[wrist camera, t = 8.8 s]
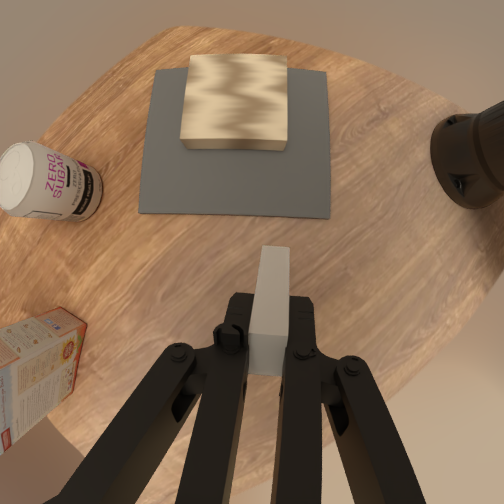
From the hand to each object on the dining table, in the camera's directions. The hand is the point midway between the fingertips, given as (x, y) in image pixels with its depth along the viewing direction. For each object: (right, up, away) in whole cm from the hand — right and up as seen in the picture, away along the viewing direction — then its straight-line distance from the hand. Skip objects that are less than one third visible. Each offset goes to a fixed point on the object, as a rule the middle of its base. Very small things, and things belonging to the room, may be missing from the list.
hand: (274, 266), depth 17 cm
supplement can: (-26, +9, +20) cm, 34 cm away
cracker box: (-30, -15, +21) cm, 40 cm away
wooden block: (-3, +13, +16) cm, 21 cm away
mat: (-3, +16, +19) cm, 25 cm away
